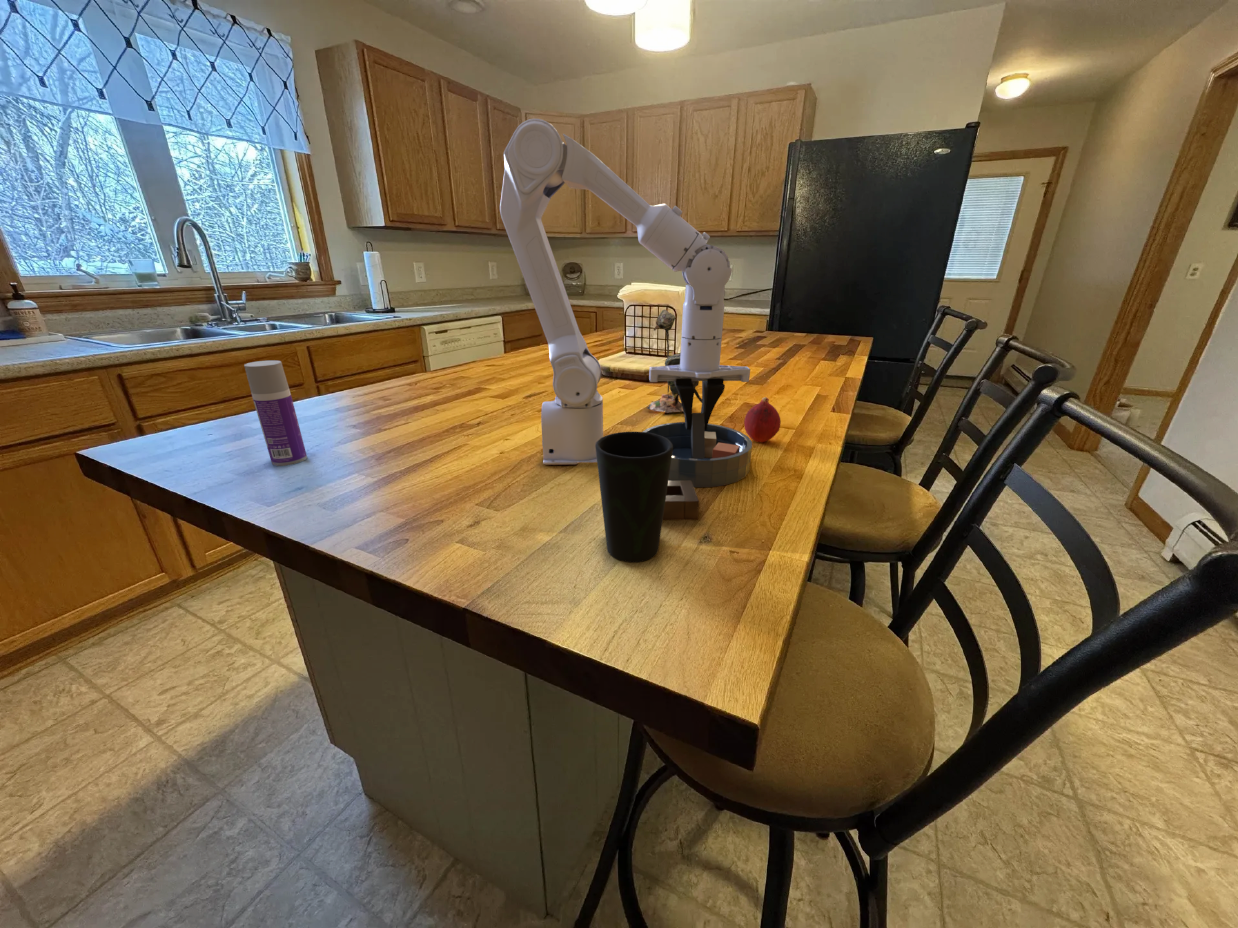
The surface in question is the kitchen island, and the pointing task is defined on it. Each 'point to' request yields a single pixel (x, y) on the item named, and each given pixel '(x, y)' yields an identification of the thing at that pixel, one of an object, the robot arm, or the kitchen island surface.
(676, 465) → the bowl
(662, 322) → the plant with pod
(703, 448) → the long dark block
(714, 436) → the cream block
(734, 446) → the terracotta block
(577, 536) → the kitchen island surface
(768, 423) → the onion
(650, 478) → the cup
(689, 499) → the holder
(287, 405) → the container
